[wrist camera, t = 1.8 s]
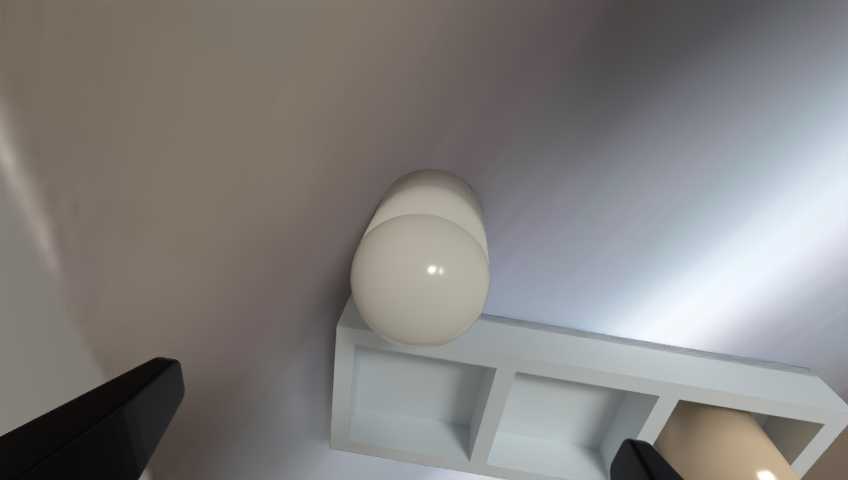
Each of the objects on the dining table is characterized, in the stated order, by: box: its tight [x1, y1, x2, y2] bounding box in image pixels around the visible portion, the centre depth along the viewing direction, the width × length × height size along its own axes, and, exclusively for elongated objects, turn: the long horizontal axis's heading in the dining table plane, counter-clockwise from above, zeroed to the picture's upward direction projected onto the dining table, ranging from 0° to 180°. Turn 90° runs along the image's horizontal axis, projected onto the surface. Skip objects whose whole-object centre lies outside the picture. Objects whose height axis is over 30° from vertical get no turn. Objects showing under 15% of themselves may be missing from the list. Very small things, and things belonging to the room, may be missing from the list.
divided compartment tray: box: [330, 293, 848, 480], centre depth 20 cm, size 21×8×2 cm, turn 81°
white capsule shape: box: [350, 169, 490, 349], centre depth 14 cm, size 4×4×7 cm
